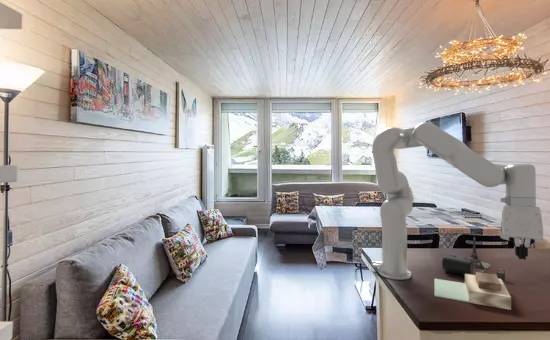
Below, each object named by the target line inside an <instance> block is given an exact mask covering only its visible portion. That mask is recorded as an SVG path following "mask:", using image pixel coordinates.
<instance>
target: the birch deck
mask: <svg viewBox="0 0 550 340" xmlns="http://www.w3.org/2000/svg"><path fill="white" fill-rule="evenodd" d="M498 279H499V278H498ZM499 281H500V283H501V292H500V291H494V290H488V289H481V288H479V287H478V284H477V281H476V274H473V275H470V274H465V276H464V283H465V286H466V291H467V295H468V299H469V302H468V303H470V304H475V305H481V306H487V307H492V308H497V309H504V310H508V311H509V310H510V311H511V310H512V296H511V294H510V292H509V291H508V289H507V287H506V284H504V283H503V281H502V279H499Z"/></svg>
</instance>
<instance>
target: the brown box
mask: <svg viewBox="0 0 550 340" xmlns="http://www.w3.org/2000/svg"><path fill="white" fill-rule="evenodd" d="M495 274H496V273H495ZM495 274H493V273H488V272H487V273H485V272H481V271H475V275H476V281H477V284H478V287H479V288H481V289H488V290H494V291H500V292H501V283H500V281H499V279H498V277H497V275H495Z"/></svg>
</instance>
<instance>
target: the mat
mask: <svg viewBox="0 0 550 340" xmlns="http://www.w3.org/2000/svg"><path fill="white" fill-rule="evenodd" d="M433 280H434V282H433V285H434V286H433V288H434V289H433V290H434V296H433V297H435V298H442V299H448V300H453V301H458V302H465V303H469V299H468V295H467V291H466V286H465V282H459V281H453V280H447V279H446V280H445V279H441V278H434V279H433Z"/></svg>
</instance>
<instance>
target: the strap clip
mask: <svg viewBox="0 0 550 340" xmlns="http://www.w3.org/2000/svg"><path fill="white" fill-rule="evenodd" d="M500 271H501V272H500ZM495 275H497V277H498V278H499V279H502V281H503V283H504V285H511V282H509V281H508V280H506V273H505V269H496V271H495Z"/></svg>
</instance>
